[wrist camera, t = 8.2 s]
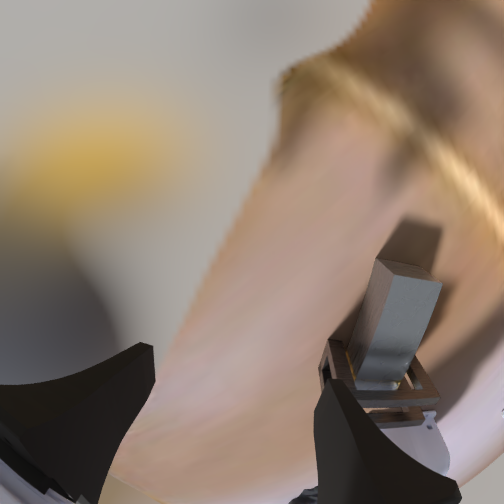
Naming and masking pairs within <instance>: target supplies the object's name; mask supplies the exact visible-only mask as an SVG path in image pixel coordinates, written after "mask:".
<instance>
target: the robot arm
mask: <svg viewBox="0 0 504 504" xmlns="http://www.w3.org/2000/svg"><path fill="white" fill-rule="evenodd" d="M155 381H156V380H155V368H154V355H153V346H152V345H148V344H145V343H142V342H139V343H138V344H135V345H134V346H132V347H130V348H128V349H127V350H124V351H122V352H121V353H119V354H117V355H115V356H113V357H111V358H109V359H107V360H105V361H103V362H101V363H99V364H97V365H95V366H92V367H90V368H88V369H86V370H83V371H81V372H78V373H75V374H73V375H69V376H66V377H63V378H59V379H55V380H50V381H46V382H41V383H34V384H24V385H0V504H74V503H75V504H98V500H99V497H100V494H101V490H102V487H103V485H104V482H105V479H106V476H107V473H108V471H109V468H110V466H111V463H112V461H113V458H114V456H115V454H116V452H117V450H118V447H119V445H120V443H121V441H122V439H123V437H124V436H125V434H126V432H127V431H128V429H129V428H130V426H131V424H132V423H133V421H134V420H135V418H136V417H137V415H138V414H139V412H140V410H141V409H142V407H143V406H144V404H145V402H146V401H147V399H148V397H149V395H150V393H151V390H152V388H153V386H154V383H155ZM423 414H424V417H425V419H426V420H425V421H424V422H423V424H422V425H420V426H412V427H402V428H389V429H379V427H378V426H377V425H376V424H375V423H374V422H373V421H372V419H371V418H370V417H369V416H368V415H367V413H366V412H365V411H364V409H363V408H362V407H361V405H360V404H359V403H358V401H357V400H356V399H355V397H354V396H353V394H352V393H351V392H350V390H349V389H348V387H347V386H346V384H345V383H344V382H343V380H342V379H330V378H328V379H327V382H326V384H325V387H324V389H323V391H322V394H321V396H320V399H319V401H318V403H317V406H316V408H315V410H314V441H315V450H316V460H317V470H318V497H317V504H459V503H460V501H461V499H462V496H461V493H460V491H459V488H458V485H457V483H456V481H455V480H453V479H450V478H448V477H446V474H447V472H448V470H449V465H450V455H449V451H448V448H447V446H446V444H445V442H444V440H443V437H442V435H441V433H440V431H439V429H438V427H437V425H436V423H435V421H434V419H433V418H434V417H435V415H436V414H437V413H436V411H425V412H423ZM67 499H68V500H67ZM69 500H70V501H71V502H70V501H69ZM72 502H73V503H72Z"/></svg>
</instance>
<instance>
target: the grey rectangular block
mask: <svg viewBox="0 0 504 504" xmlns="http://www.w3.org/2000/svg"><path fill="white" fill-rule="evenodd" d="M442 284H443V283H442V282H440V281H439V280H438V279H436V278H435V277H434V276H432V275H431V274H429V273H428V272H427V271H425V270H424V269H422V268H421V267H420V266H416V265H411V264H405V263H400V262H395V261H390V260H385V259H379V258H375V262H374V266H373V270H372V273H371V277H370V281H369V284H368V288H367V291H366V294H365V298H364V301H363V304H362V307H361V310H360V314H359V317H358V320H357V323H356V326H355V329H354V331H353V334H352V337H351V340H350V343H349V345H348V348H347V350H346V356H347V359H348V363H349V366H350V369H351V372H352V376H353V379H354V383H355V386H356V390H397V388H398V387H399V385H400V383H401V381H402V379H403V377H404V375H405V373H406V371H407V369H408V367H409V365H410V363H411V361H412V359H413V357H414V355H415V353H416V351H417V348H418V346H419V344H420V342H421V340H422V337H423V335H424V333H425V330H426V328H427V325H428V323H429V320H430V318H431V315H432V313H433V310H434V307H435V305H436V302H437V299H438V296H439V293H440V290H441V287H442Z"/></svg>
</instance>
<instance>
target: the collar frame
mask: <svg viewBox="0 0 504 504" xmlns="http://www.w3.org/2000/svg"><path fill="white" fill-rule="evenodd" d="M318 370H319V377H320V384H321V391H323V389H324V387H325V384H326V382H327V379H328V378H330V379H342V380H343V382H344V383H345V384H346V386H347V387H348V389H349V390H350V392H351V393H352V394H353V396H354V397H355V399H356V400H357V401H358V403H359V404H360V405H361V407H362V408H390V407H401V408H402V411H403V412H397V413H367V415H368V416H369V417H370V418H371V419H372V421H373V422H374V423H375V424H376V425H377V426H378V427H379V429H389V428H402V427H412V426H420V425H422V424H423V422H424V421H425V420H426V419H425V417H424V414H423V412H422V410H421V408H420V406H423V405H433V404H437V402H438V400H439V399H440V395H439V393H438V392H437V390H436V388H435V387H434V385H433V383H432V382H431V380H430V378H429V377H428V375H427V373H426V372H425V370H424V369H423V367H422V365H421V364H420V362H419V361H418V359H417V358H416V356H415V355H414V357H413V359H412V361H411V363H410V365H409V367H408V369H407V371H406V372H407V374H408V376H409V378H410V380H411V382H412V384H413V386H414V388H415V389H416V390H411V388H410V386H409V384H408V382H407V380H406V378H405V376H404V377H403V379H402V381H401V383H400V385H399V387H398V388H397V390H356V386H355V383H354V379H353V376H352V372H351V369H350V366H349V363H348V359H347V356H346V353H345V350H344V347H343V343H342V341H338V340H329V339H328V340H327V343H326V346H325V349H324V352H323V355H322V358H321V361H320V364H319V367H318Z"/></svg>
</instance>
